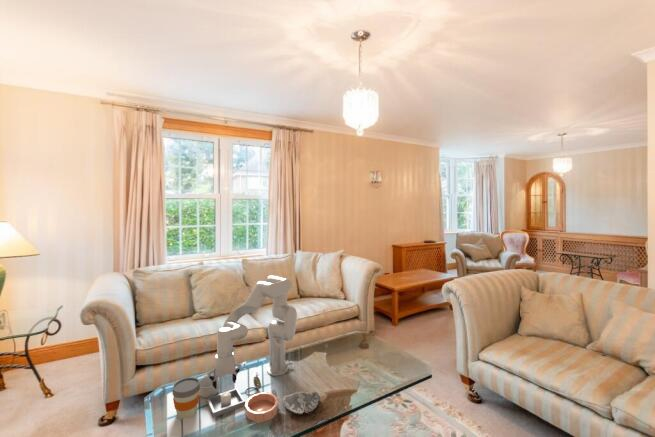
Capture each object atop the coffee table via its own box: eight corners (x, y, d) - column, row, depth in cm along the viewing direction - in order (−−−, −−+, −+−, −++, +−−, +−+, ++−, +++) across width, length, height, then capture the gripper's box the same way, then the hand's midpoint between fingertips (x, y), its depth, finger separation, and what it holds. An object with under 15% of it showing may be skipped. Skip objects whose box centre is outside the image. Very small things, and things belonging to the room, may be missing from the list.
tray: (237, 393, 176) (237, 388, 176) (245, 406, 165) (245, 401, 165) (206, 403, 167) (206, 398, 167) (213, 418, 156) (213, 412, 156)
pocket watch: (243, 395, 174) (242, 377, 173) (250, 386, 182) (250, 369, 182) (256, 397, 172) (256, 380, 171) (263, 388, 180) (263, 371, 180)
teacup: (220, 398, 171) (219, 384, 171) (198, 403, 167) (197, 388, 167) (218, 383, 184) (218, 370, 183) (198, 387, 180) (198, 374, 179)
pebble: (229, 399, 169) (229, 390, 169) (232, 405, 165) (232, 395, 165) (219, 403, 167) (219, 394, 166) (222, 408, 163) (222, 399, 162)
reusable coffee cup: (195, 401, 169) (195, 374, 167) (204, 414, 159) (203, 385, 158) (170, 411, 161) (169, 383, 159) (177, 426, 151) (176, 396, 150)
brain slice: (285, 421, 155) (285, 416, 155) (281, 399, 172) (281, 394, 171) (324, 414, 160) (324, 409, 160) (316, 393, 177) (316, 388, 177)
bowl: (270, 396, 173) (270, 388, 173) (283, 414, 160) (283, 405, 160) (241, 407, 164) (241, 399, 164) (252, 427, 151) (252, 418, 151)
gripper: (239, 345, 171) (238, 376, 172) (205, 353, 162) (205, 386, 163) (243, 351, 165) (243, 383, 166) (209, 360, 155) (209, 393, 157)
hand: (224, 384), depth 164 cm, fingers open, 9 cm apart
